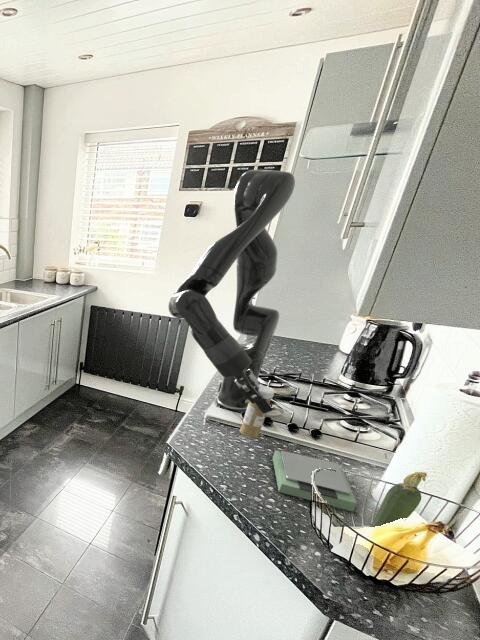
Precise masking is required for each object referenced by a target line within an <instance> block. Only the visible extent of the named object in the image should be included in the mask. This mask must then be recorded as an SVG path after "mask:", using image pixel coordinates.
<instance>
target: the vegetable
mask: <svg viewBox="0 0 480 640" xmlns="http://www.w3.org/2000/svg"><path fill="white" fill-rule="evenodd" d="M428 477H429V476H428V475H427V472H423V471H415V472H414V473H411V474H408V475H406V476H405V477H404V479H403V482H400V483H396V484H394V485H393V486H391V487H390V489H388V491H387V492H386V494H385V496H384V498H383V500H382V502H381V504H380V507H379V509H378V510H377V512H376V515H375V516H374V518H373V520H372V521H371V523H370V525H369V526H368V528H369V527H375V526H381V525H383V524H386V523H390V522H393V521H395V520H398V519H400V518H402V519H403V518H407V519H408V518H410V516H411V515H412V514H413V513H414V511H415V510H416V509H417V508H418V506H419V505H420V503H421V501H422V493H421V491H420V490H419V488H418V487H419V485H420V483H421V482H422V481H423V482H426V480H427V478H428Z"/></svg>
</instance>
